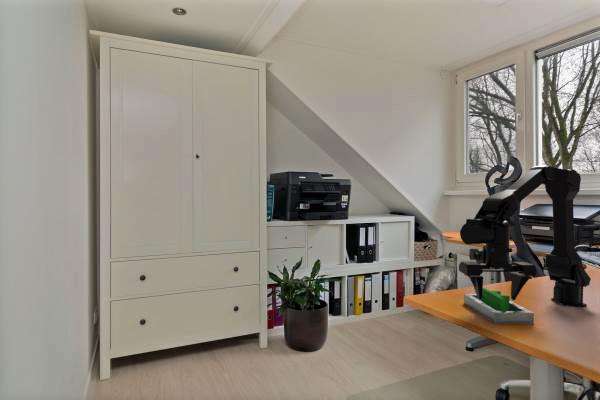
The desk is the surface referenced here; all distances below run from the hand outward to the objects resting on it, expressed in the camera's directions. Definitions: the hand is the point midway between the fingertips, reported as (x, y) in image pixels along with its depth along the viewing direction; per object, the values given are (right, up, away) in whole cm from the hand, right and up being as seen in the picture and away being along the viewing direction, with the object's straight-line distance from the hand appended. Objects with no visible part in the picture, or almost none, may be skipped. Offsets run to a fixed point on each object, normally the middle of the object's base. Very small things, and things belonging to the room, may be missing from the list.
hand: (496, 299), depth 101 cm
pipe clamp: (0, -3, 0) cm, 3 cm away
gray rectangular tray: (0, -4, 0) cm, 4 cm away
